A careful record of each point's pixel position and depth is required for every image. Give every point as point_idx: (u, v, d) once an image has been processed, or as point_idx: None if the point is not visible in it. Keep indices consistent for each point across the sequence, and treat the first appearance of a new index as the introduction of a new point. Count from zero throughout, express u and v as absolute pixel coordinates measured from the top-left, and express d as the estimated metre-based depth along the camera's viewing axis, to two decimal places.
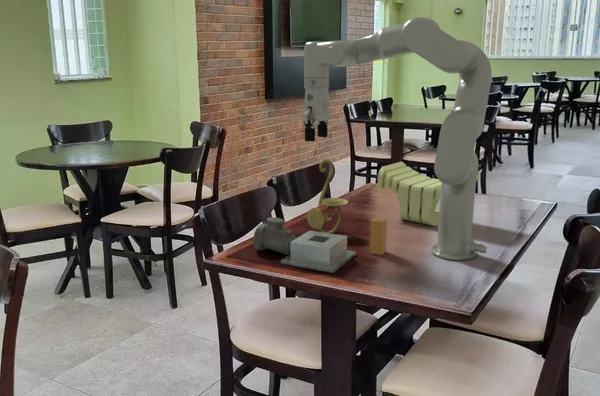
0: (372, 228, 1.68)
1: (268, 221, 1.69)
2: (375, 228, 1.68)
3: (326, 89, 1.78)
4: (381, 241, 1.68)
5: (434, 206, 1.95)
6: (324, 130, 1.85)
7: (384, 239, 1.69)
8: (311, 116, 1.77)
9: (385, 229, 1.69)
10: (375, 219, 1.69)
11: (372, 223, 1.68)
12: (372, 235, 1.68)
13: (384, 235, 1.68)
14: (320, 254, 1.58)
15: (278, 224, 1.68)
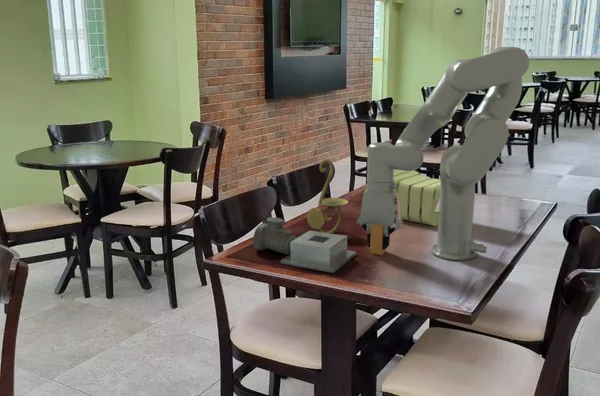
0: (372, 228, 1.68)
1: (268, 221, 1.69)
2: (375, 228, 1.68)
3: None
4: (381, 241, 1.68)
5: (434, 206, 1.95)
6: None
7: None
8: None
9: None
10: None
11: None
12: (372, 235, 1.68)
13: None
14: (320, 254, 1.58)
15: (278, 224, 1.68)
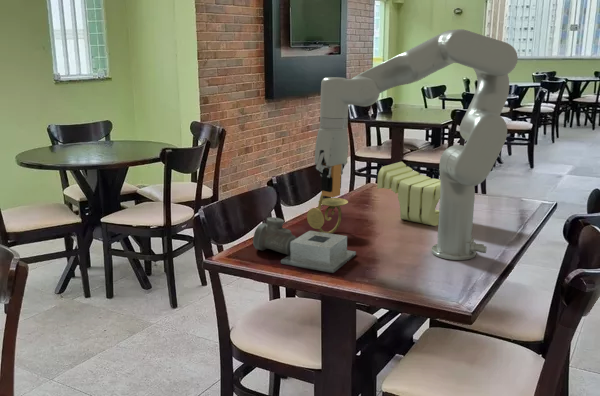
0: (334, 169, 1.58)
1: (268, 221, 1.69)
2: (336, 169, 1.59)
3: None
4: (340, 180, 1.61)
5: (434, 206, 1.95)
6: None
7: None
8: None
9: None
10: None
11: None
12: (334, 177, 1.59)
13: None
14: (320, 254, 1.58)
15: (278, 224, 1.68)
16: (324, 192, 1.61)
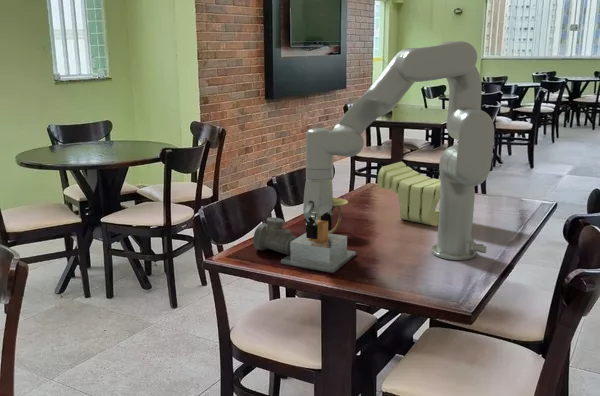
0: (323, 232, 1.61)
1: (268, 221, 1.69)
2: (324, 231, 1.62)
3: None
4: None
5: (434, 206, 1.95)
6: None
7: None
8: None
9: None
10: (319, 223, 1.62)
11: (323, 226, 1.61)
12: (323, 239, 1.62)
13: None
14: (320, 254, 1.58)
15: (278, 224, 1.68)
16: None
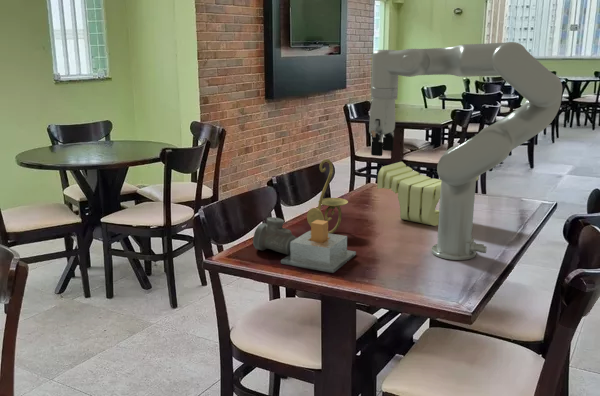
0: (323, 232, 1.61)
1: (268, 221, 1.69)
2: (324, 231, 1.62)
3: None
4: None
5: (434, 206, 1.95)
6: None
7: None
8: None
9: None
10: (319, 223, 1.62)
11: (323, 227, 1.61)
12: (323, 239, 1.62)
13: None
14: (320, 254, 1.58)
15: (278, 224, 1.68)
16: None
